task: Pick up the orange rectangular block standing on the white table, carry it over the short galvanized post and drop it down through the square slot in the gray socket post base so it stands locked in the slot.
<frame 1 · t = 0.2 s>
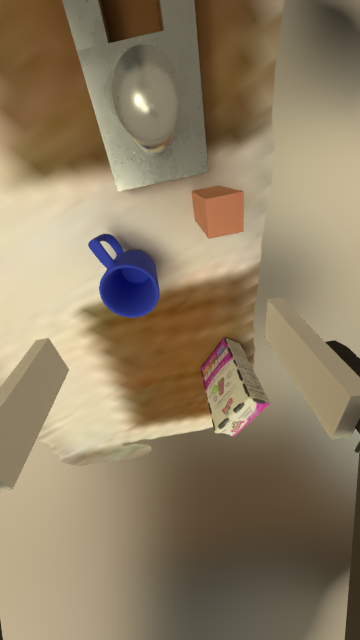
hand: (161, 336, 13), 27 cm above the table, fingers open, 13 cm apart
gray socket post base: (144, 82, 26), on the table
candy bar box: (219, 355, 52), on the table
orange rectangular block: (206, 203, 33), on the table
mug: (129, 258, 38), on the table
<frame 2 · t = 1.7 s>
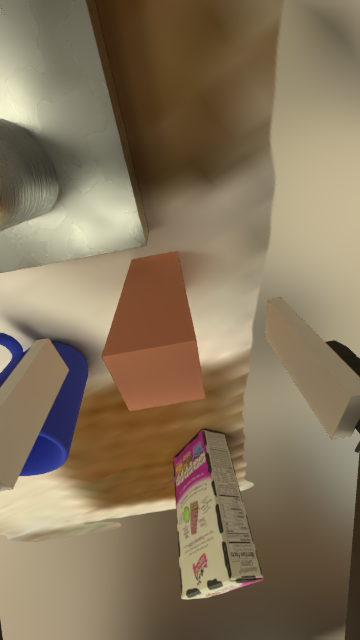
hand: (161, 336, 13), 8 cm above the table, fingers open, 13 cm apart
gray socket post base: (0, 66, 12), on the table
candy bar box: (198, 444, 39), on the table
orange rectangular block: (159, 276, 20), on the table
mug: (46, 348, 24), on the table
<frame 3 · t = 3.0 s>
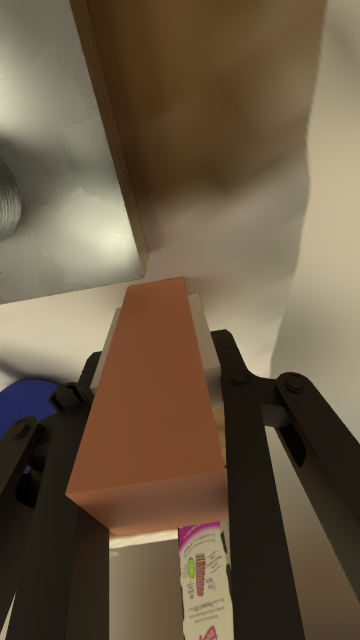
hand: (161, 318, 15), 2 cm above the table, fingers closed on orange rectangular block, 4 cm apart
candy bar box: (203, 479, 35), on the table
orange rectangular block: (161, 306, 16), on the table, touching gripper
mug: (28, 385, 20), on the table
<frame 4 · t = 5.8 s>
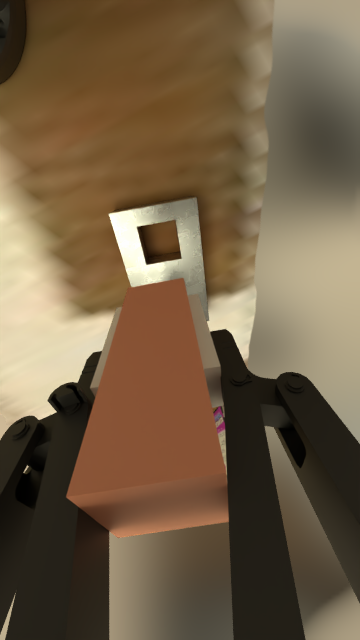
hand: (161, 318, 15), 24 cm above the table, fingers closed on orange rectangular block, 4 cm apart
gray socket post base: (166, 267, 38), on the table
candy bar box: (216, 416, 63), on the table
orange rectangular block: (161, 306, 16), point 23 cm above the table, touching gripper
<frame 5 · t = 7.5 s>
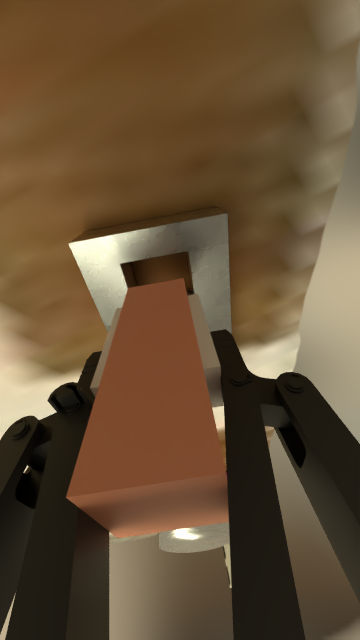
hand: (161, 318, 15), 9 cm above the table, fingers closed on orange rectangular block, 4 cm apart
gray socket post base: (170, 312, 25), on the table
orange rectangular block: (161, 307, 16), point 7 cm above the table, touching gripper
when the fingers open (4 cm above the table, at t = 8.6 s): orange rectangular block drops 3 cm, resting in gray socket post base.
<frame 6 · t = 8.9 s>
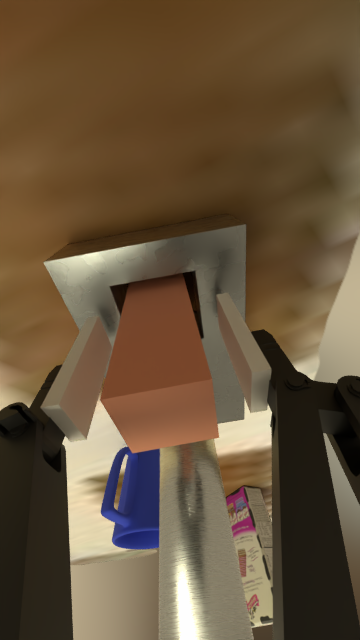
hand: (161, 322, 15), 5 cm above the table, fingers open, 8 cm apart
gray socket post base: (171, 335, 21), on the table
candy bar box: (237, 495, 48), on the table
orange rectangular block: (160, 290, 19), resting in gray socket post base
mug: (143, 444, 33), on the table
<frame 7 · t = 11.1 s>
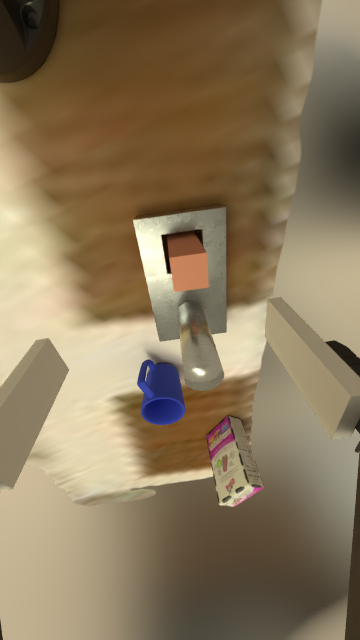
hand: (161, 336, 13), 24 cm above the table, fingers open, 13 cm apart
gray socket post base: (185, 275, 36), on the table
candy bar box: (223, 426, 62), on the table
orange rectangular block: (181, 245, 34), resting in gray socket post base
mug: (158, 366, 48), on the table
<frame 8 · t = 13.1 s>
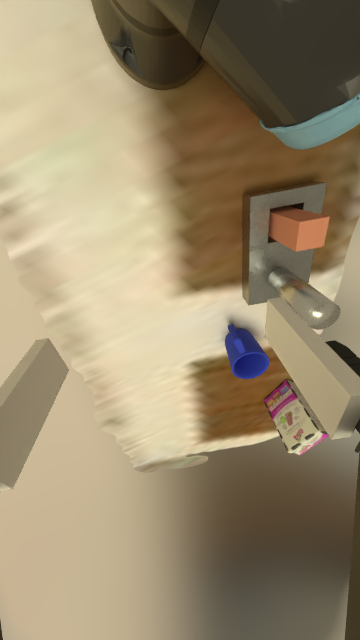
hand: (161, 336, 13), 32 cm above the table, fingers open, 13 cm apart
gray socket post base: (272, 246, 43), on the table
candy bar box: (279, 390, 69), on the table
orange rectangular block: (274, 220, 40), resting in gray socket post base
mug: (234, 332, 54), on the table
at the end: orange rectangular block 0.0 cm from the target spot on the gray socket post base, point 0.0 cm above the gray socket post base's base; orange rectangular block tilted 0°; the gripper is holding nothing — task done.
